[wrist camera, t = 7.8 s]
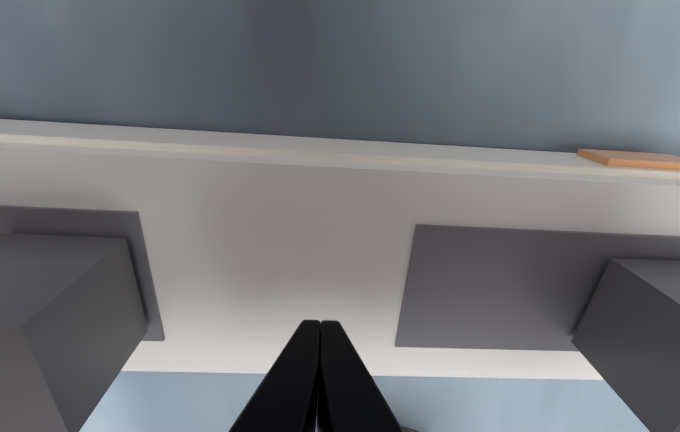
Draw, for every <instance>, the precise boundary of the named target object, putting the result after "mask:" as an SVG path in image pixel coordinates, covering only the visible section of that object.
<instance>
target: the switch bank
mask: <svg viewBox="0 0 680 432" xmlns="http://www.w3.org/2000/svg"><path fill="white" fill-rule="evenodd" d="M0 233H11V234H36V235H60V236H85V237H109V238H126V240H127V244H128V248H129V253H130V257H131V261H132V265H133V269H134V274H135V278H136V282H137V286H138V291H139V295H140V299H141V303H142V307H143V312H144V316H145V320H146V324H147V329H148V332H147V333H146V334H145V336H144V337H143V339H142V340H141V342H140V343H139V345H138V346H137V348H136V349H135V350H134V352H133V353H132V355H131V356H130V358H129V359H128V361H127V362H126V364H125V365H124V366H123V368H122V369H121V371H159V372H211V373H263V374H267V373H268V371H269V370H270V368H271V367H272V365H273V364H274V362H275V361H276V359H277V358H278V356H279V355H280V353H281V352H282V350H283V349H284V347H285V346H286V344H287V343H288V341H289V340H290V338H291V337H292V335H293V333H294V332H295V330H296V329H297V327H298V326H299V324H300V323H301V322H302V321H303V320H305V319H306V320H319V321H320V323H321V321H323V320H337V321H339V322H340V324H341V325H342V327H343V329H344V330H345V332H346V334H347V336H348V337H349V339H350V341H351V342H352V344H353V346H354V347H355V349H356V351H357V353H358V354H359V356H360V358H361V359H362V361H363V363H364V365H365V366H366V368H367V370H368V371H369V373H370V375H371V376H419V377H471V378H524V379H576V380H604V379H603V378H602V376H601V375H600V374H599V373H598V372H597V371H596V370H595V369H594V367H593V366H592V365H591V364H590V363H589V362H588V361H587V359H586V358H585V357H584V356H583V355H582V354H581V353H580V352H579V350H578V349H577V348H576V347H575V346H574V345H573V344H572V342H571V340H572V338H573V336H574V334H575V332H576V330H577V328H578V326H579V324H580V322H581V320H582V318H583V315H584V313H585V311H586V309H587V307H588V305H589V303H590V301H591V299H592V297H593V295H594V293H595V291H596V288H597V286H598V284H599V282H600V280H601V278H602V276H603V274H604V272H605V270H606V268H607V266H608V264H609V261H610V259H611V258H622V259H646V260H670V261H680V156H677V155H673V154H661V153H644V152H627V151H611V150H594V149H578V152H577V153H566V152H549V151H532V150H515V149H499V148H482V147H465V146H448V145H431V144H414V143H397V142H381V141H364V140H347V139H330V138H313V137H296V136H279V135H263V134H246V133H229V132H212V131H195V130H178V129H161V128H145V127H128V126H111V125H94V124H77V123H60V122H43V121H27V120H10V119H0ZM320 328H321V326H320Z"/></svg>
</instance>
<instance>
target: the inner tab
mask: <svg viewBox="0 0 680 432" xmlns="http://www.w3.org/2000/svg"><path fill="white" fill-rule="evenodd" d="M147 332H148V329H147V324H146V320H145V316H144V312H143V307H142V303H141V299H140V295H139V291H138V286H137V282H136V278H135V274H134V269H133V265H132V261H131V257H130V253H129V248H128V244H127V240H126V238H109V237H85V236H60V235H36V234H11V233H0V432H79V430H80V429H81V428H82V426H83V425H84V423H85V422H86V420H87V419H88V417H89V416H90V414H91V413H92V412H93V410H94V409H95V407H96V406H97V404H98V403H99V401H100V400H101V398H102V397H103V396H104V394H105V393H106V391H107V390H108V388H109V387H110V385H111V384H112V382H113V381H114V380H115V378H116V377H117V375H118V374H119V372H120V371H121V369H122V368H123V366H124V365H125V364H126V362H127V361H128V359H129V358H130V356H131V355H132V353H133V352H134V350H135V349H136V348H137V346H138V345H139V343H140V342H141V340H142V339H143V337H144V336H145V334H146V333H147Z"/></svg>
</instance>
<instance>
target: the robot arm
mask: <svg viewBox="0 0 680 432" xmlns="http://www.w3.org/2000/svg"><path fill="white" fill-rule="evenodd" d="M320 326H321V328H320ZM317 398H318V399H317ZM316 417H317V432H404V431H403V430H402V428H401V426H400V425H399V423H398V421H397V419H396V418H395V416H394V414H393V413H392V411H391V409H390V407H389V406H388V404H387V402H386V401H385V399H384V397H383V395H382V394H381V392H380V390H379V389H378V387H377V385H376V383H375V382H374V380H373V378H372V377H371V375H370V373H369V371H368V370H367V368H366V366H365V365H364V363H363V361H362V359H361V358H360V356H359V354H358V353H357V351H356V349H355V347H354V346H353V344H352V342H351V341H350V339H349V337H348V336H347V334H346V332H345V330H344V329H343V327H342V325H341V324H340V322H339V321H337V320H323V321H321V323H320V321H319V320H306V319H305V320H303V321H302V322H301V323H300V324H299V326H298V327H297V329H296V330H295V332H294V333H293V335H292V337H291V338H290V340H289V341H288V343H287V344H286V346H285V347H284V349H283V350H282V352H281V353H280V355H279V356H278V358H277V359H276V361H275V362H274V364H273V365H272V367H271V368H270V370H269V371H268V373H267V374H266V376H265V377H264V379H263V380H262V382H261V383H260V385H259V386H258V388H257V389H256V391H255V393H254V394H253V396H252V397H251V399H250V400H249V402H248V403H247V405H246V406H245V408H244V409H243V411H242V412H241V414H240V415H239V417H238V418H237V420H236V421H235V423H234V424H233V426H232V427H231V429H230V430H229V432H315V429H316Z"/></svg>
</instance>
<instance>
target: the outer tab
mask: <svg viewBox="0 0 680 432" xmlns="http://www.w3.org/2000/svg"><path fill="white" fill-rule="evenodd" d="M571 342H572V344H573V345H574V346H575V347H576V348H577V349H578V350H579V352H580V353H581V354H582V355H583V356H584V357H585V358H586V359H587V361H588V362H589V363H590V364H591V365H592V366H593V367H594V369H595V370H596V371H597V372H598V373H599V374H600V375H601V376H602V378H603V379H604V380H605V381H606V382H607V383H608V384H609V386H610V387H611V388H612V389H613V390H614V391H615V392H616V393H617V395H618V396H619V397H620V398H621V399H622V400H623V401H624V402H625V404H626V405H627V406H628V407H629V408H630V409H631V410H632V412H633V413H634V414H635V415H636V416H637V417H638V418H639V419H640V421H641V422H642V423H643V424H644V425H645V426H646V427H647V429H648V430H649V431H650V432H680V261H670V260H646V259H622V258H611V259H610V261H609V264H608V266H607V268H606V270H605V272H604V274H603V276H602V278H601V280H600V282H599V284H598V286H597V288H596V291H595V293H594V295H593V297H592V299H591V301H590V303H589V305H588V307H587V309H586V311H585V313H584V315H583V318H582V320H581V322H580V324H579V326H578V328H577V330H576V332H575V334H574V336H573V338H572V340H571Z"/></svg>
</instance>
